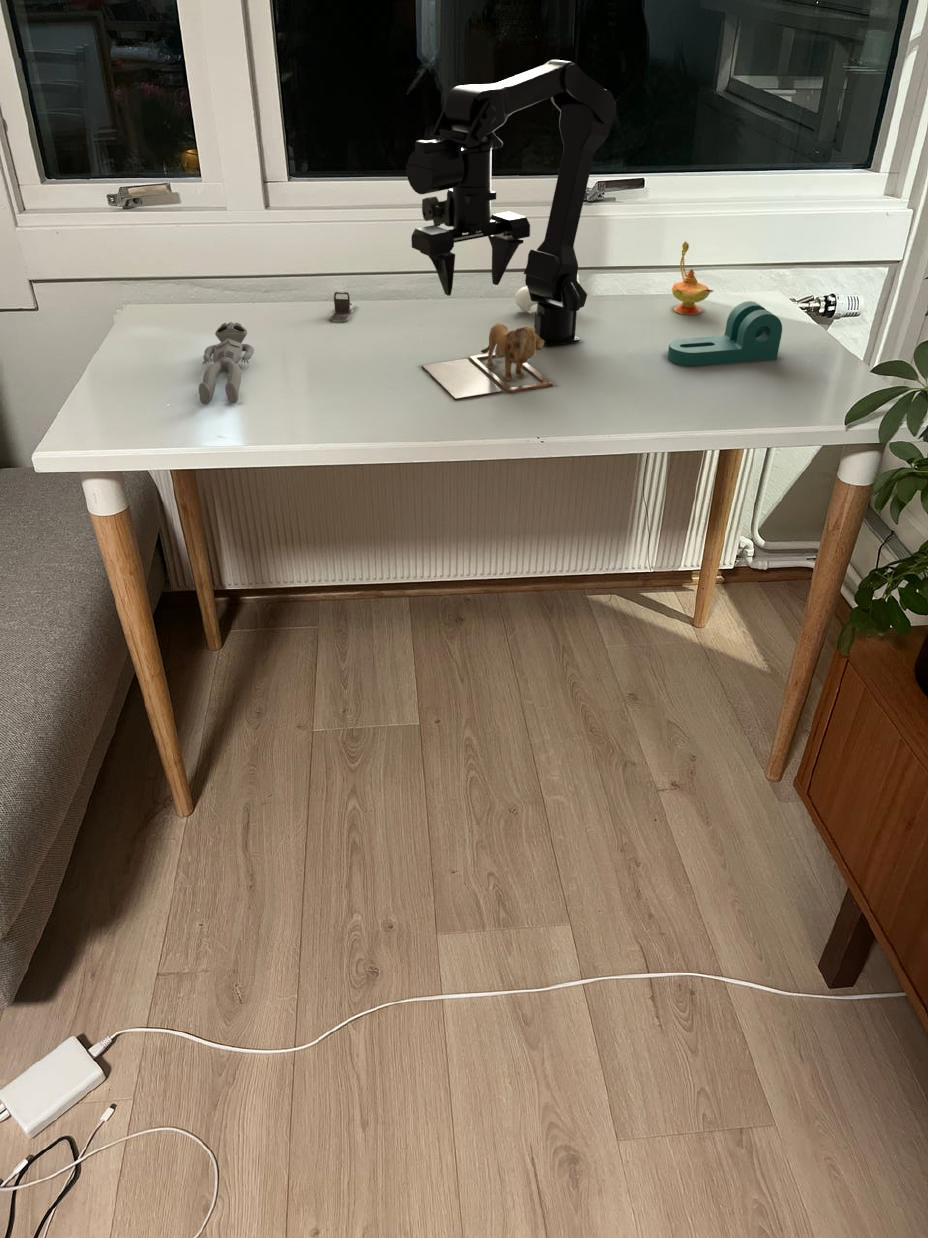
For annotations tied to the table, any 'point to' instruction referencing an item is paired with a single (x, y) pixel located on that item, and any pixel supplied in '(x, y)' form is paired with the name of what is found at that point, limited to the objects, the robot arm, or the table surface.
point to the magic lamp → (689, 289)
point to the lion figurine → (513, 347)
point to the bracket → (733, 340)
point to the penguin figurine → (526, 298)
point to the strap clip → (342, 308)
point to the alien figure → (225, 361)
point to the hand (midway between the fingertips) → (471, 289)
